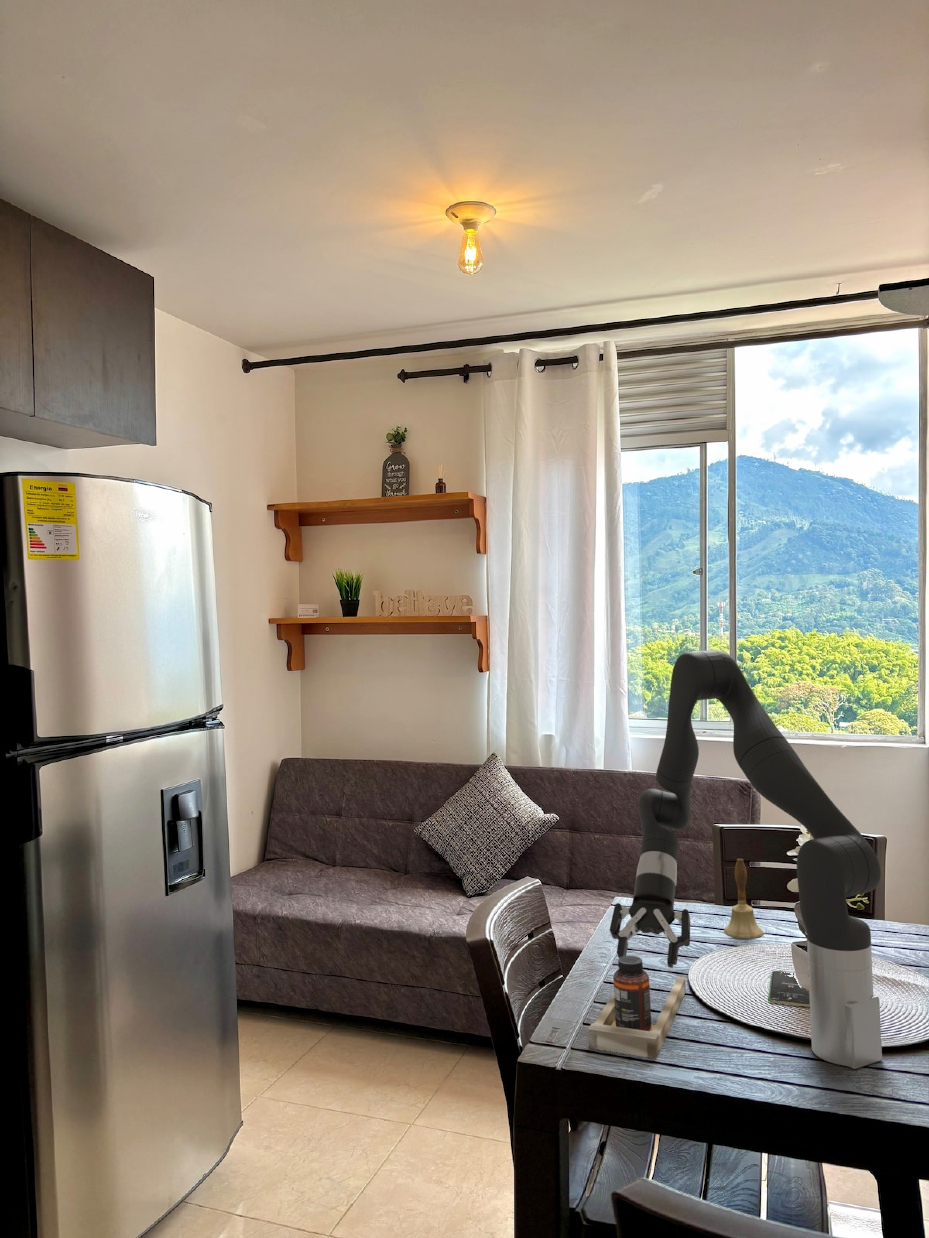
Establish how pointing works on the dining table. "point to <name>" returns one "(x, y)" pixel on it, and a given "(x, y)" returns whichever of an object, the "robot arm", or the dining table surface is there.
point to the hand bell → (742, 910)
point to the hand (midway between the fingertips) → (646, 962)
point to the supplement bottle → (632, 994)
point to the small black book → (787, 990)
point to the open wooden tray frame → (633, 1039)
